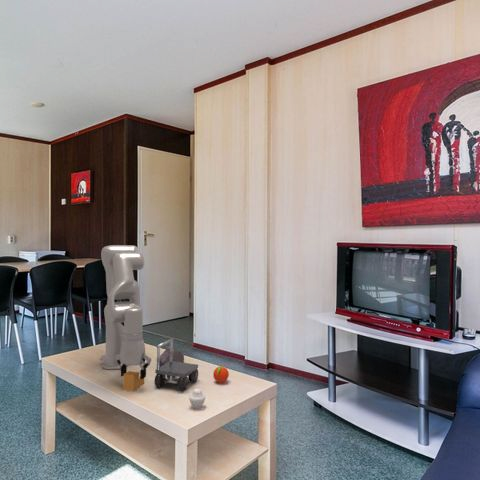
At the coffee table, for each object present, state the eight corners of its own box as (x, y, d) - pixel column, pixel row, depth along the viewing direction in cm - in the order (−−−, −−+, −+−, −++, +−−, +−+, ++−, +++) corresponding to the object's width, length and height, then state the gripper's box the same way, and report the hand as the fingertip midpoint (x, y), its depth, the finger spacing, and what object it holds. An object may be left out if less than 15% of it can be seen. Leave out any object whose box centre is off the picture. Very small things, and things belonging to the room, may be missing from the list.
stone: (161, 349, 186) (185, 343, 197) (153, 347, 190) (178, 341, 201) (162, 371, 186) (186, 363, 197) (154, 369, 190) (179, 361, 201)
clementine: (224, 386, 167) (225, 370, 167) (210, 384, 169) (210, 368, 169) (230, 380, 175) (230, 364, 175) (216, 378, 177) (216, 363, 177)
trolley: (153, 388, 164) (153, 346, 164) (171, 375, 179) (172, 337, 179) (182, 393, 159) (183, 350, 159) (199, 380, 174) (199, 340, 174)
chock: (123, 389, 163) (123, 374, 163) (134, 382, 171) (134, 368, 171) (133, 391, 161) (133, 375, 161) (144, 384, 169) (144, 369, 169)
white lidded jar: (200, 411, 143) (200, 393, 143) (186, 408, 145) (186, 390, 145) (208, 405, 149) (208, 387, 149) (193, 402, 151) (194, 384, 151)
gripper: (110, 337, 164) (110, 377, 164) (145, 340, 158) (145, 382, 158) (121, 333, 171) (121, 371, 171) (155, 336, 165) (155, 376, 165)
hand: (133, 376), depth 164 cm, fingers open, 9 cm apart
